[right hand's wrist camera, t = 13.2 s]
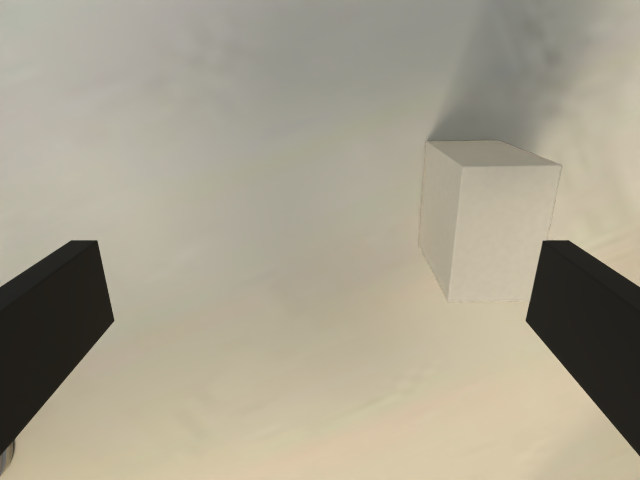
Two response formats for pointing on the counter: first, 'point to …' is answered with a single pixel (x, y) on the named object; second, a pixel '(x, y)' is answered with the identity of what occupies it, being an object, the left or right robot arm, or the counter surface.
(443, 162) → the block
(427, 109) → the counter surface
